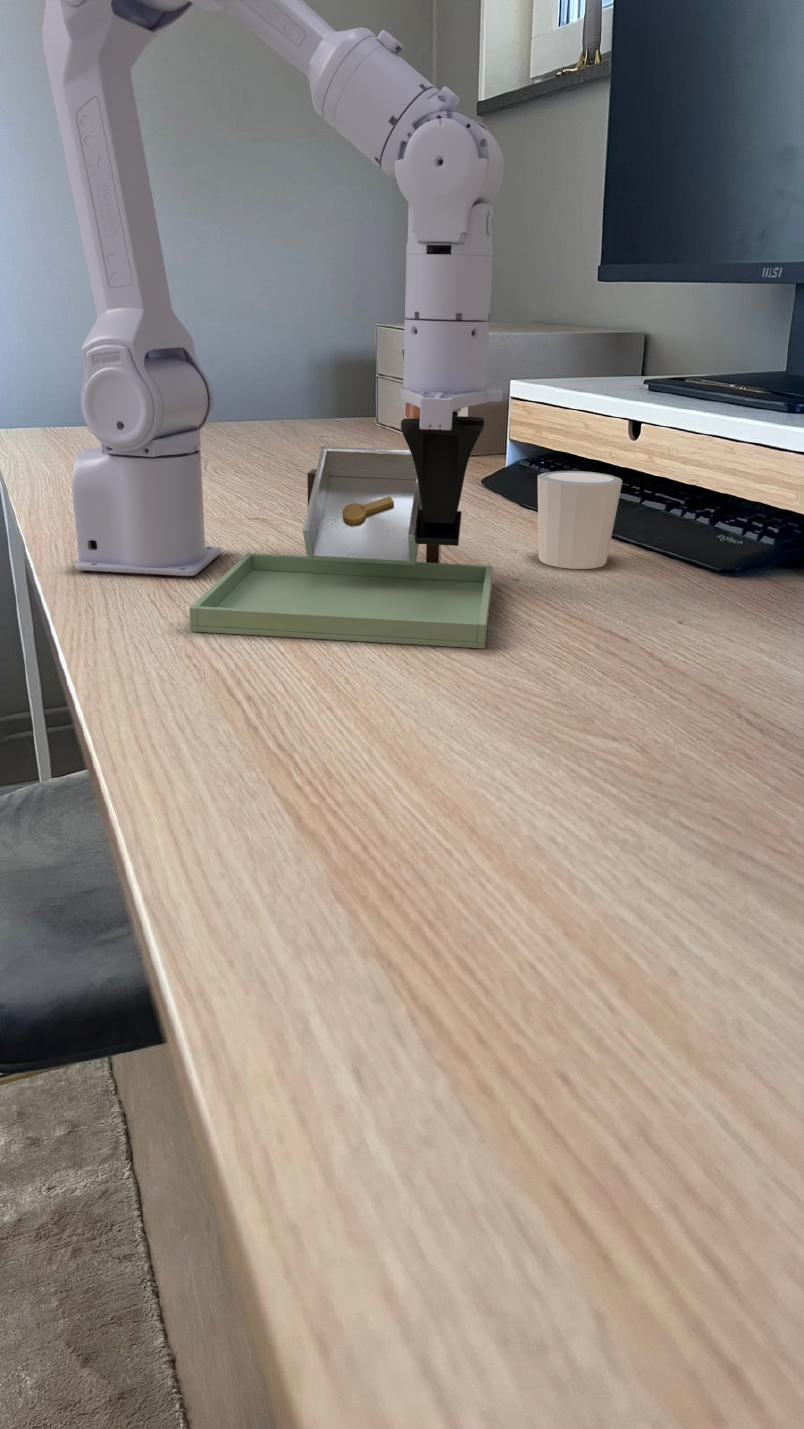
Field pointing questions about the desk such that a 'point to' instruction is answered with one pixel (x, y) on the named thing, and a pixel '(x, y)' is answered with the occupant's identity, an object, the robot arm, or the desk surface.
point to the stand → (431, 550)
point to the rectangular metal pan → (380, 532)
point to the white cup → (576, 518)
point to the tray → (349, 601)
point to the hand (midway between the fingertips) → (439, 521)
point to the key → (364, 509)
